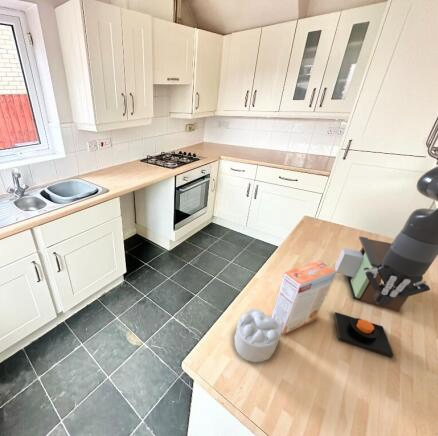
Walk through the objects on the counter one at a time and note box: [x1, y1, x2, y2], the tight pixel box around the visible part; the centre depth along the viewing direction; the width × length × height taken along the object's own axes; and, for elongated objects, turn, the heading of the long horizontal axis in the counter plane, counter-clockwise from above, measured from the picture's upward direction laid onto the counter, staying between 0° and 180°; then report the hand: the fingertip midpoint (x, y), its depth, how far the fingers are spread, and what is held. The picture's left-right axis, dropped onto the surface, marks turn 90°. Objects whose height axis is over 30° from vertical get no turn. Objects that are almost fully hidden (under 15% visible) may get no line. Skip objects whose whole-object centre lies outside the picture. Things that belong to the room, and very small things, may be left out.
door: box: [334, 247, 376, 298], centre depth 87 cm, size 7×12×14 cm, turn 153°
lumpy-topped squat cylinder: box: [234, 308, 283, 363], centre depth 69 cm, size 10×13×9 cm
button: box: [356, 318, 374, 334], centre depth 71 cm, size 4×4×2 cm
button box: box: [333, 311, 394, 359], centre depth 72 cm, size 12×10×4 cm
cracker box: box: [270, 260, 337, 335], centre depth 73 cm, size 14×6×21 cm, turn 111°
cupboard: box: [345, 236, 409, 312], centre depth 86 cm, size 12×18×16 cm
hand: (379, 302), depth 66 cm, fingers closed
